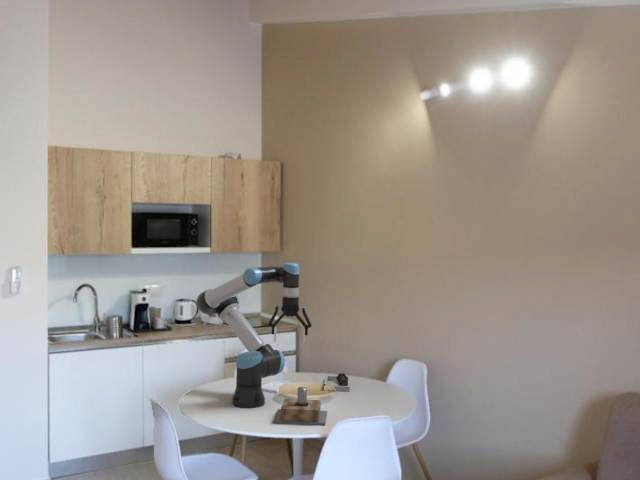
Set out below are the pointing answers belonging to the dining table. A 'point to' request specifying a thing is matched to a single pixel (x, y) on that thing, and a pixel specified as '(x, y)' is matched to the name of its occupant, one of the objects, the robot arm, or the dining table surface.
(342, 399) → the dining table surface
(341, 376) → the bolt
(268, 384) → the calculator
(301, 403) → the peg
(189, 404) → the dining table surface
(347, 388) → the parts tray
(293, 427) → the dining table surface
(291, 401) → the socket
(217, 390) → the dining table surface
